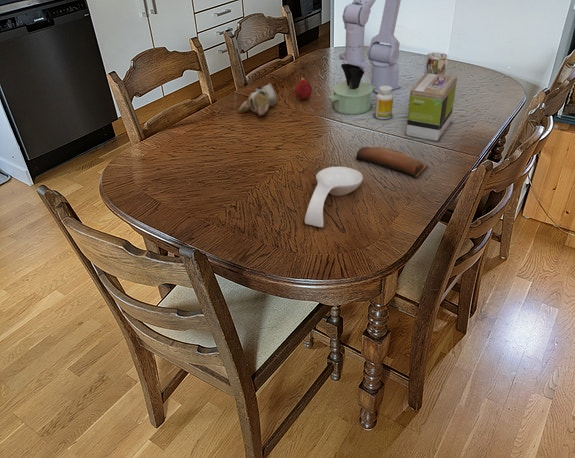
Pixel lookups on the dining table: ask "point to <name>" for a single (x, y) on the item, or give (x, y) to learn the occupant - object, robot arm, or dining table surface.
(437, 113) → the tea box
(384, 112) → the supplement bottle
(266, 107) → the ceramic sculpture
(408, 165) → the sunglasses case
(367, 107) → the pot
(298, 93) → the onion
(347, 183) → the spoon rest
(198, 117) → the dining table surface
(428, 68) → the beer glass
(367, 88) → the lid
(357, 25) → the robot arm
